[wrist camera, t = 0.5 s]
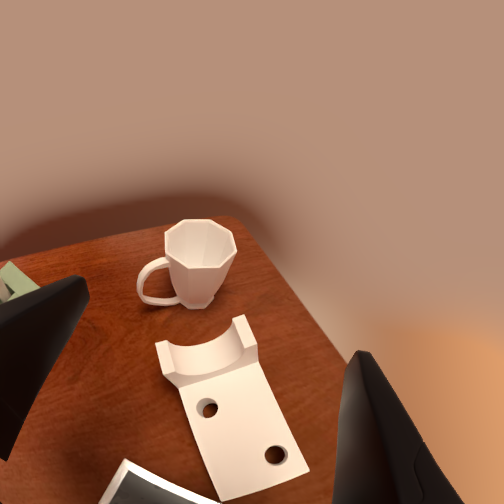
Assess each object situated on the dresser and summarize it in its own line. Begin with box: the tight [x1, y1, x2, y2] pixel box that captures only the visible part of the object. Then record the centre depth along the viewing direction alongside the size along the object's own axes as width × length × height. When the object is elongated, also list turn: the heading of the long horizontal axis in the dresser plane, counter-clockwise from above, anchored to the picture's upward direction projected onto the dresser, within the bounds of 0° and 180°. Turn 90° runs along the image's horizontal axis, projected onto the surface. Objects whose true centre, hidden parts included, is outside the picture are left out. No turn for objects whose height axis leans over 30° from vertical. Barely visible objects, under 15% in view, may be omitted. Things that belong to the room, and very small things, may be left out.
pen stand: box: [0, 261, 40, 304], centre depth 22 cm, size 7×7×4 cm
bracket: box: [155, 315, 310, 502], centre depth 19 cm, size 13×7×8 cm, turn 21°
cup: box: [137, 220, 237, 309], centre depth 28 cm, size 7×10×8 cm
